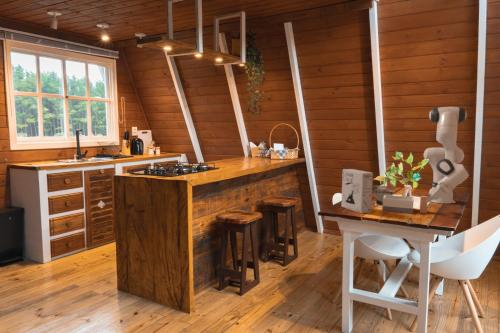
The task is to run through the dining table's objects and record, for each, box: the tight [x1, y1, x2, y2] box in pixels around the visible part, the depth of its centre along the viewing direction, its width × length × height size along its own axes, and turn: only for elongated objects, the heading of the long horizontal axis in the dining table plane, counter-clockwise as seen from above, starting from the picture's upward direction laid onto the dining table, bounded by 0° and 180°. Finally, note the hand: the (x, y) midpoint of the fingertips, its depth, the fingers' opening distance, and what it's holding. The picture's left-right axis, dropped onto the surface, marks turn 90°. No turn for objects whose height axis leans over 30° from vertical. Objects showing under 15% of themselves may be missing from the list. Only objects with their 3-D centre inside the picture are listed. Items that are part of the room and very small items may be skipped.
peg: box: [419, 195, 428, 214], centre depth 248 cm, size 4×4×10 cm
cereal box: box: [341, 168, 374, 214], centre depth 252 cm, size 22×8×25 cm, turn 21°
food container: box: [374, 188, 395, 206], centre depth 271 cm, size 12×6×10 cm, turn 74°
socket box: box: [381, 194, 414, 214], centre depth 254 cm, size 14×18×8 cm
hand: (426, 200), depth 247 cm, fingers open, 8 cm apart
